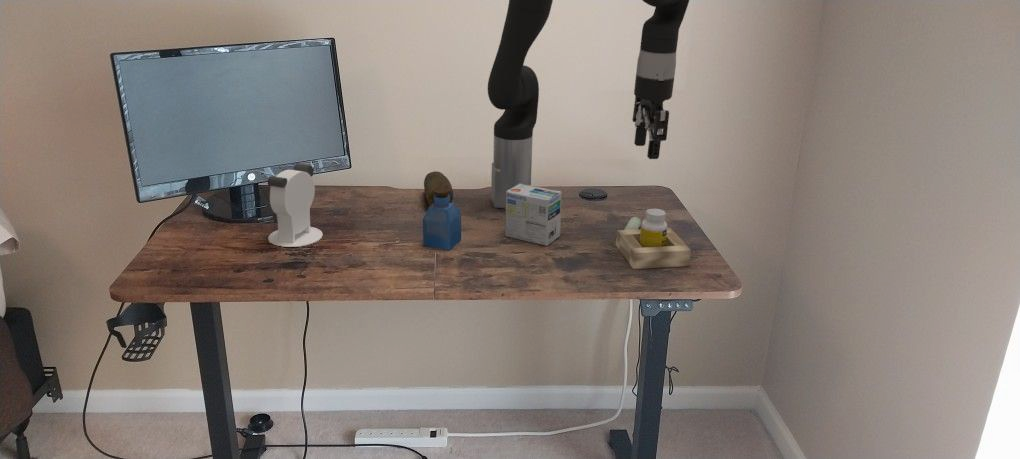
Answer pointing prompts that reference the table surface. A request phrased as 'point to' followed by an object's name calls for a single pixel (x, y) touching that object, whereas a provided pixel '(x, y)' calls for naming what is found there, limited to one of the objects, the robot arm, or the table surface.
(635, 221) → the lying dowel
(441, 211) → the perfume bottle
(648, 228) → the supplement bottle
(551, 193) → the light bulb box
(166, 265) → the table surface
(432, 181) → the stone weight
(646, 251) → the socket block
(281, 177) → the headphone stand
